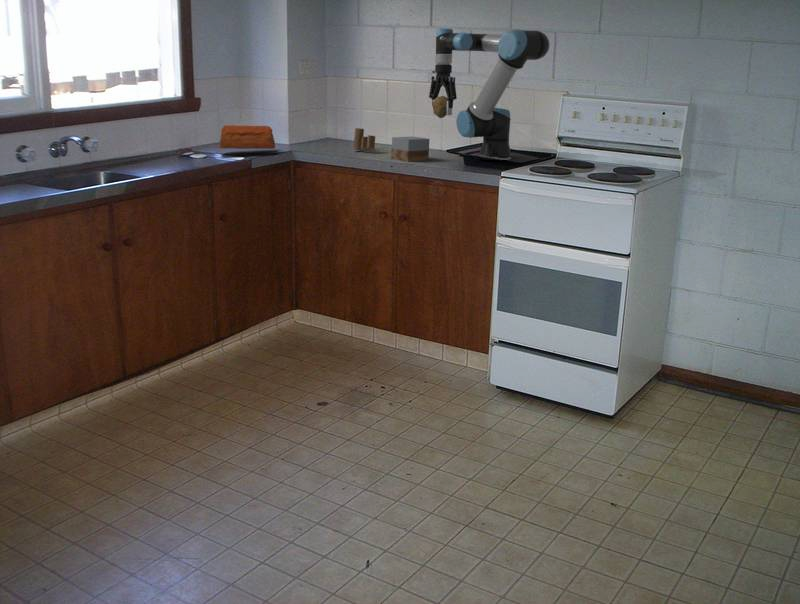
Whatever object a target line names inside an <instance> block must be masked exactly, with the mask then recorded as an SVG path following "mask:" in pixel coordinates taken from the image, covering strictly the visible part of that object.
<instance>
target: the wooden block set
mask: <svg viewBox="0 0 800 604" xmlns="http://www.w3.org/2000/svg"><path fill="white" fill-rule="evenodd" d="M364 133H365V129H364V128H360V127H357V128H354V140H353V150H354V151H362V150H364V151H368V150H374V149H375V143H376V136H375V135H370V134H369V135H367V136H364Z"/></svg>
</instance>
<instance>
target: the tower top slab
mask: <svg viewBox="0 0 800 604" xmlns="http://www.w3.org/2000/svg"><path fill="white" fill-rule="evenodd" d="M391 149H398V150H404V151H421V150H429V151H430V138H425V137H419V136H393V137H392V138H391Z"/></svg>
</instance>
